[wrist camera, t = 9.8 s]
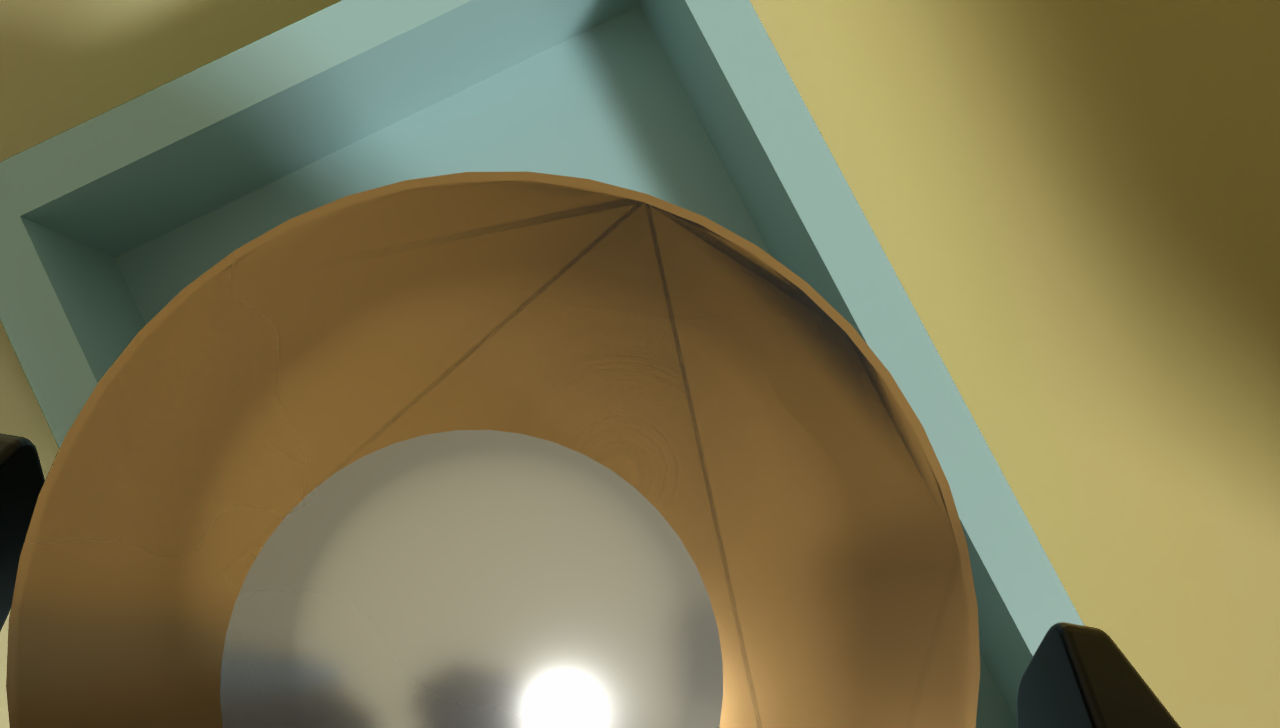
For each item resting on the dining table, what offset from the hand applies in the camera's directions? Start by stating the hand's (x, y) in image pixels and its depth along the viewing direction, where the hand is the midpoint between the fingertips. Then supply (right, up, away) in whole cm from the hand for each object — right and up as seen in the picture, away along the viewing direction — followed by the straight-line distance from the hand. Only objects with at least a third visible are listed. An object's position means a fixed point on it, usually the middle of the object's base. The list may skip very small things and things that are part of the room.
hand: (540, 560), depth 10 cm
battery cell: (0, -1, +8) cm, 8 cm away
